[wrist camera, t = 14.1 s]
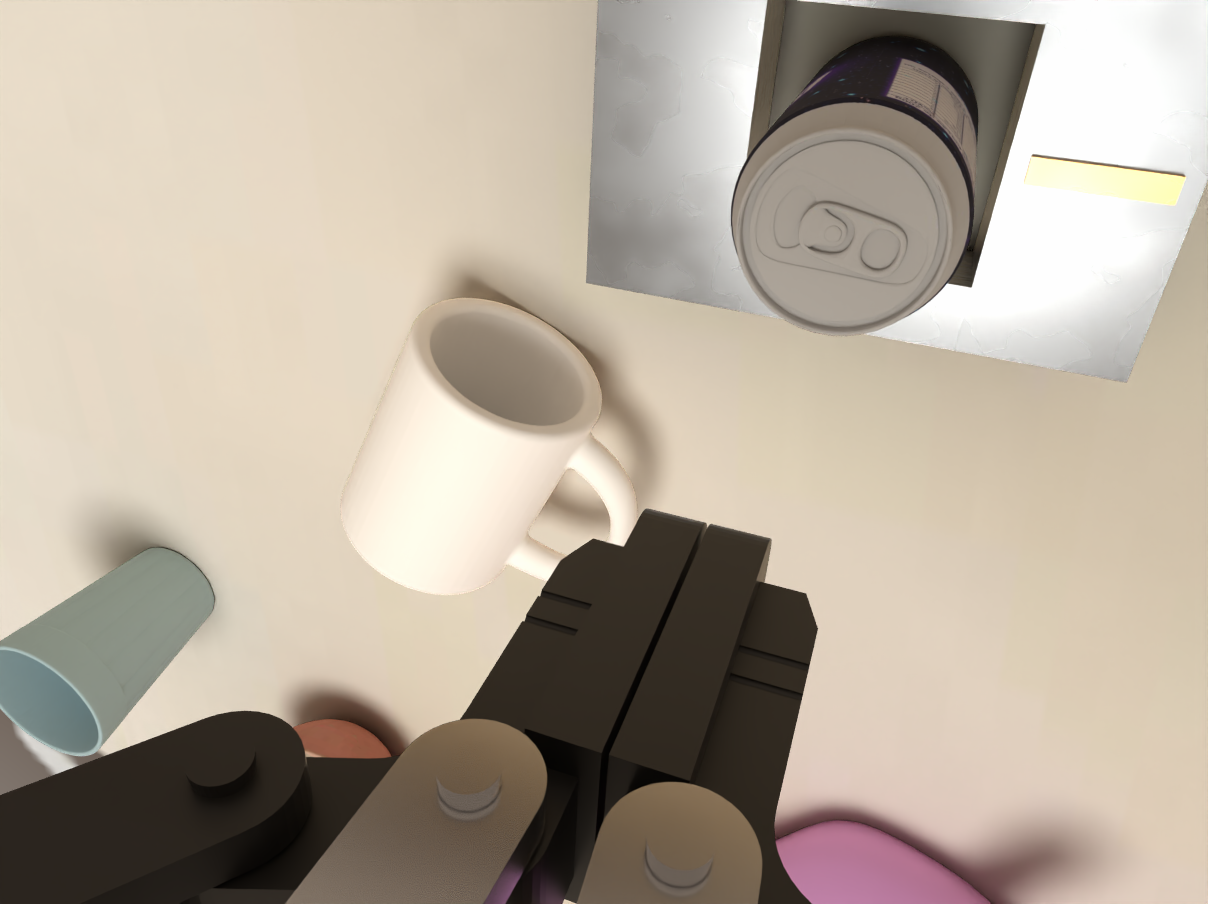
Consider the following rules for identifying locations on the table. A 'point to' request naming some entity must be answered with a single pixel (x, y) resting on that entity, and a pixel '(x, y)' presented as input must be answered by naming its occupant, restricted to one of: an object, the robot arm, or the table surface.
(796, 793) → the table surface
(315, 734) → the anatomical model
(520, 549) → the mug
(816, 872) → the teapot
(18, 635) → the cup
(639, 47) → the jig
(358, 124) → the table surface
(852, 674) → the table surface
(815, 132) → the beverage can
